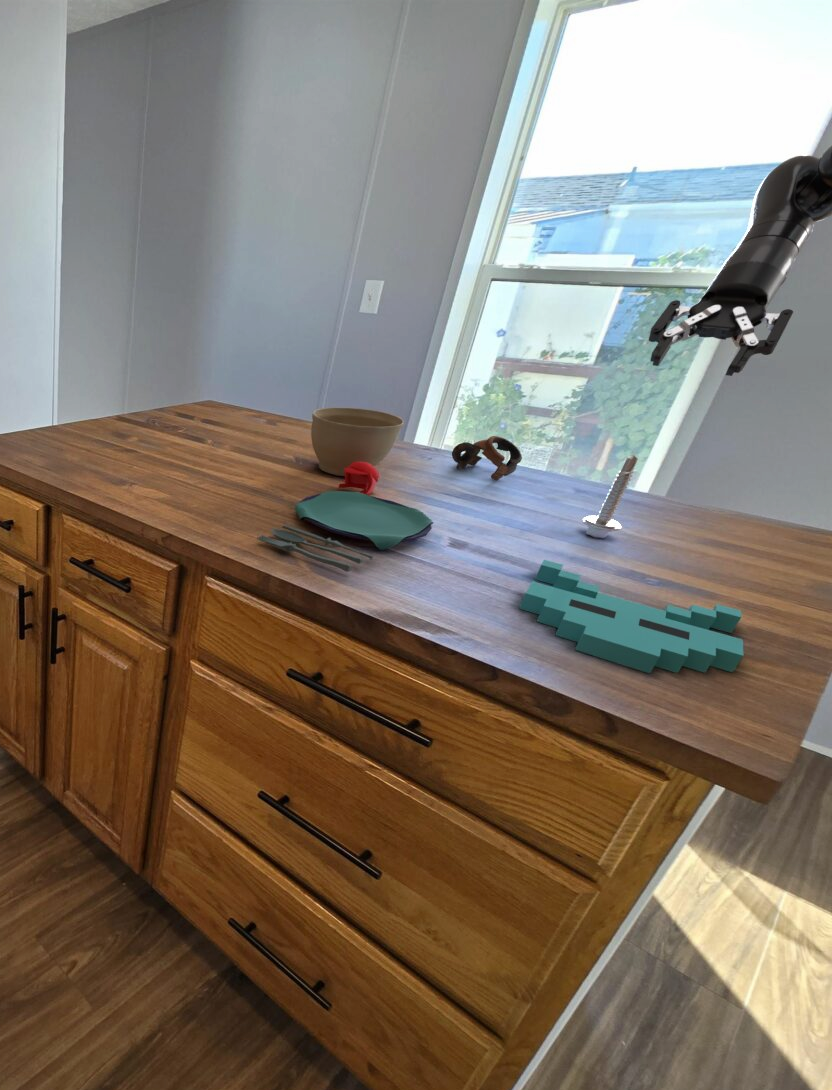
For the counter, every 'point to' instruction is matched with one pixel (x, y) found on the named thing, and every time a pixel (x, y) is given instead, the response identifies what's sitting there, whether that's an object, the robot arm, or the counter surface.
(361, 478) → the cap
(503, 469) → the brown looped twisted part
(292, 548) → the cutlery set
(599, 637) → the alien figure
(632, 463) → the screw
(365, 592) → the counter surface
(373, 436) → the planter bowl
